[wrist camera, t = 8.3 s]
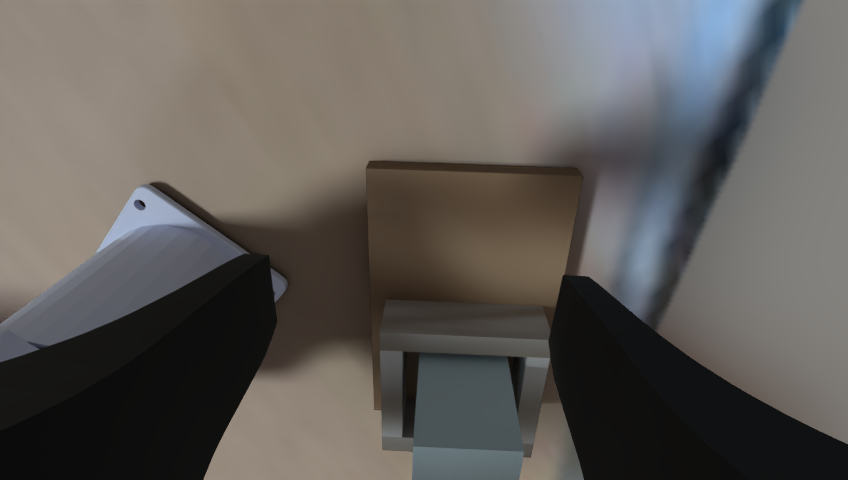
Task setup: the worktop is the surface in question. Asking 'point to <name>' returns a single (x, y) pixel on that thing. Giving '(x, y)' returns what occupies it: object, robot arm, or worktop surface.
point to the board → (464, 276)
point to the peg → (465, 419)
